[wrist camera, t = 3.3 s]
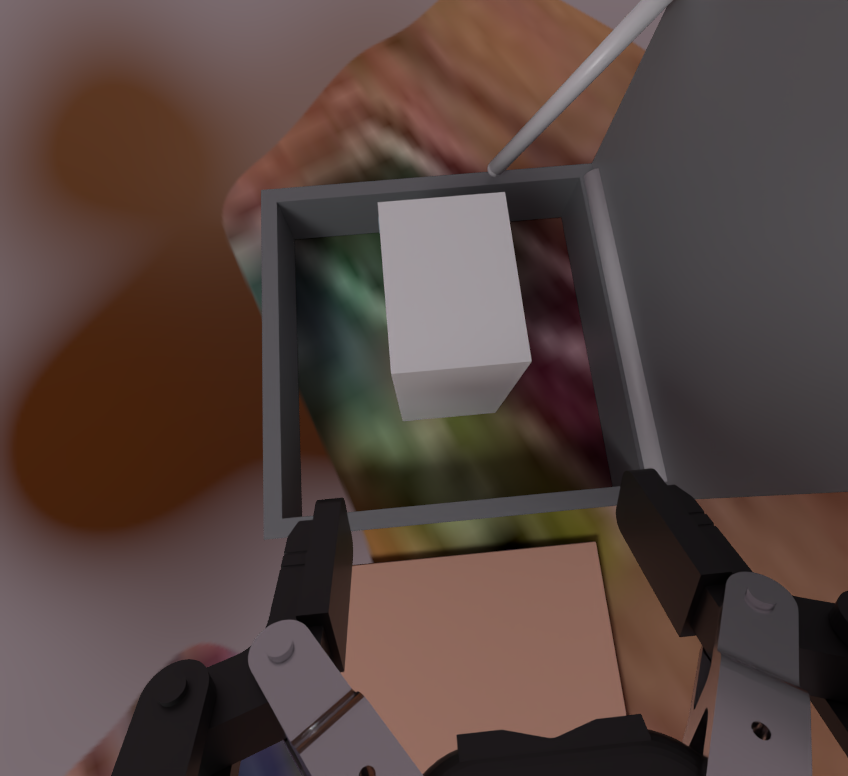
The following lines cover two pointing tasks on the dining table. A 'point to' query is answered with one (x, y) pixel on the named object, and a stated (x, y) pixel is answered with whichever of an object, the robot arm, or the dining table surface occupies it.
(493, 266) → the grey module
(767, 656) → the robot arm
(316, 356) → the dining table surface
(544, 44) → the dining table surface
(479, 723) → the terracotta mat
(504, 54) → the dining table surface
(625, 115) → the equipment case
